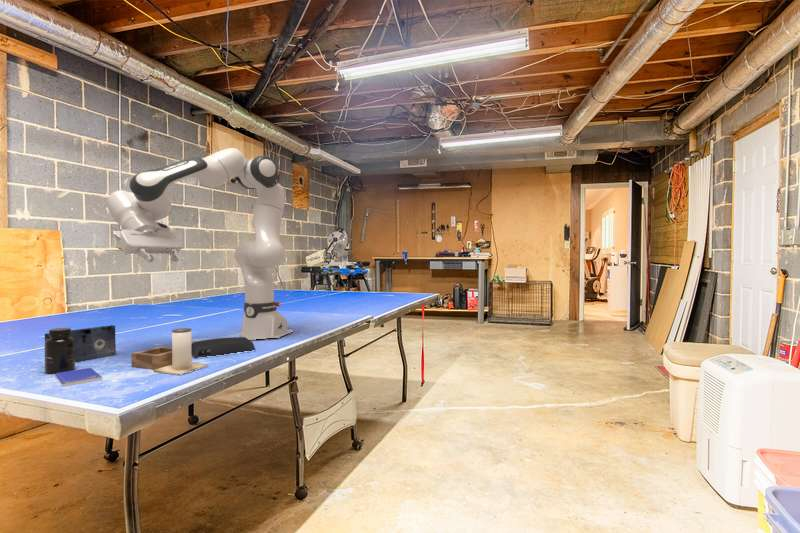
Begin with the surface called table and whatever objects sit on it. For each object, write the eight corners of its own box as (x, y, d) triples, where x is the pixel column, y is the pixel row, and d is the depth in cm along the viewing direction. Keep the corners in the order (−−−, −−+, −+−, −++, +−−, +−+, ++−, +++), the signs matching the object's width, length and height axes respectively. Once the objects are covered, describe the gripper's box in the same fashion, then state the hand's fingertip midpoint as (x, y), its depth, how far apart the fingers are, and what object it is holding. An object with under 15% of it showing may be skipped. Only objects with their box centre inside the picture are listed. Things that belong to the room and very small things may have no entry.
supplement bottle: (39, 374, 115) (38, 331, 115) (52, 368, 122) (51, 327, 122) (68, 373, 117) (67, 330, 117) (80, 366, 124) (79, 326, 123)
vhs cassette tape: (112, 354, 140) (112, 324, 139) (116, 355, 138) (116, 325, 138) (44, 366, 124) (43, 333, 124) (48, 368, 122) (47, 334, 122)
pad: (182, 363, 128) (182, 361, 128) (208, 366, 125) (208, 364, 125) (153, 372, 119) (153, 370, 118) (180, 375, 115) (180, 373, 115)
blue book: (102, 375, 111) (91, 367, 120) (63, 382, 105) (55, 372, 114) (102, 381, 111) (91, 372, 120) (63, 388, 105) (55, 378, 114)
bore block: (160, 358, 133) (160, 346, 133) (185, 361, 130) (184, 348, 130) (131, 366, 124) (131, 353, 124) (156, 369, 121) (156, 356, 121)
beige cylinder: (182, 364, 125) (182, 327, 125) (195, 365, 123) (195, 328, 123) (168, 368, 120) (167, 330, 120) (181, 370, 119) (181, 331, 118)
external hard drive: (189, 352, 144) (188, 340, 144) (247, 346, 155) (247, 335, 155) (194, 360, 133) (194, 347, 133) (256, 353, 144) (256, 341, 144)
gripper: (115, 221, 127) (139, 253, 124) (172, 225, 146) (194, 253, 143) (105, 236, 128) (128, 268, 125) (162, 238, 148) (184, 266, 145)
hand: (164, 260), depth 134 cm, fingers open, 8 cm apart
